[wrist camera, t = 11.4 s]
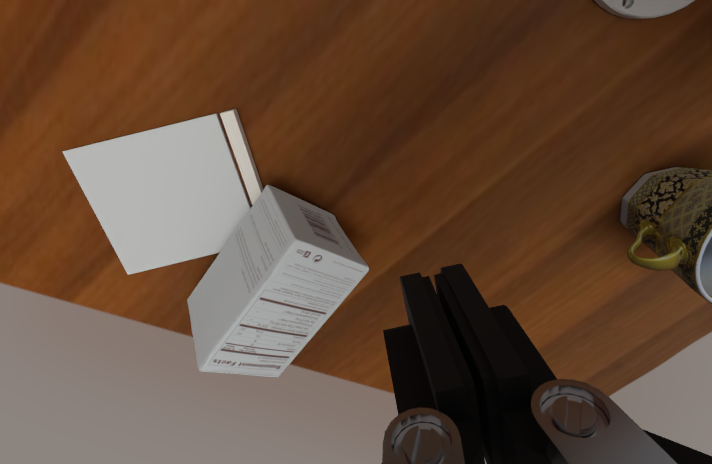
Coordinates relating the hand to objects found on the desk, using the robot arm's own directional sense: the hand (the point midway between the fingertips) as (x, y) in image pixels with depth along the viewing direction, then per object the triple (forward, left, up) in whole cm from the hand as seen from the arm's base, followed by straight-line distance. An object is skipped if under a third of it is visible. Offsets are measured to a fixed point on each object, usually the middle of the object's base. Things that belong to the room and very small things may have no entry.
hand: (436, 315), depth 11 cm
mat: (+16, 0, -23) cm, 28 cm away
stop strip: (+9, 0, -23) cm, 25 cm away
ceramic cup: (-24, +11, -23) cm, 35 cm away
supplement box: (+4, +4, -19) cm, 19 cm away
